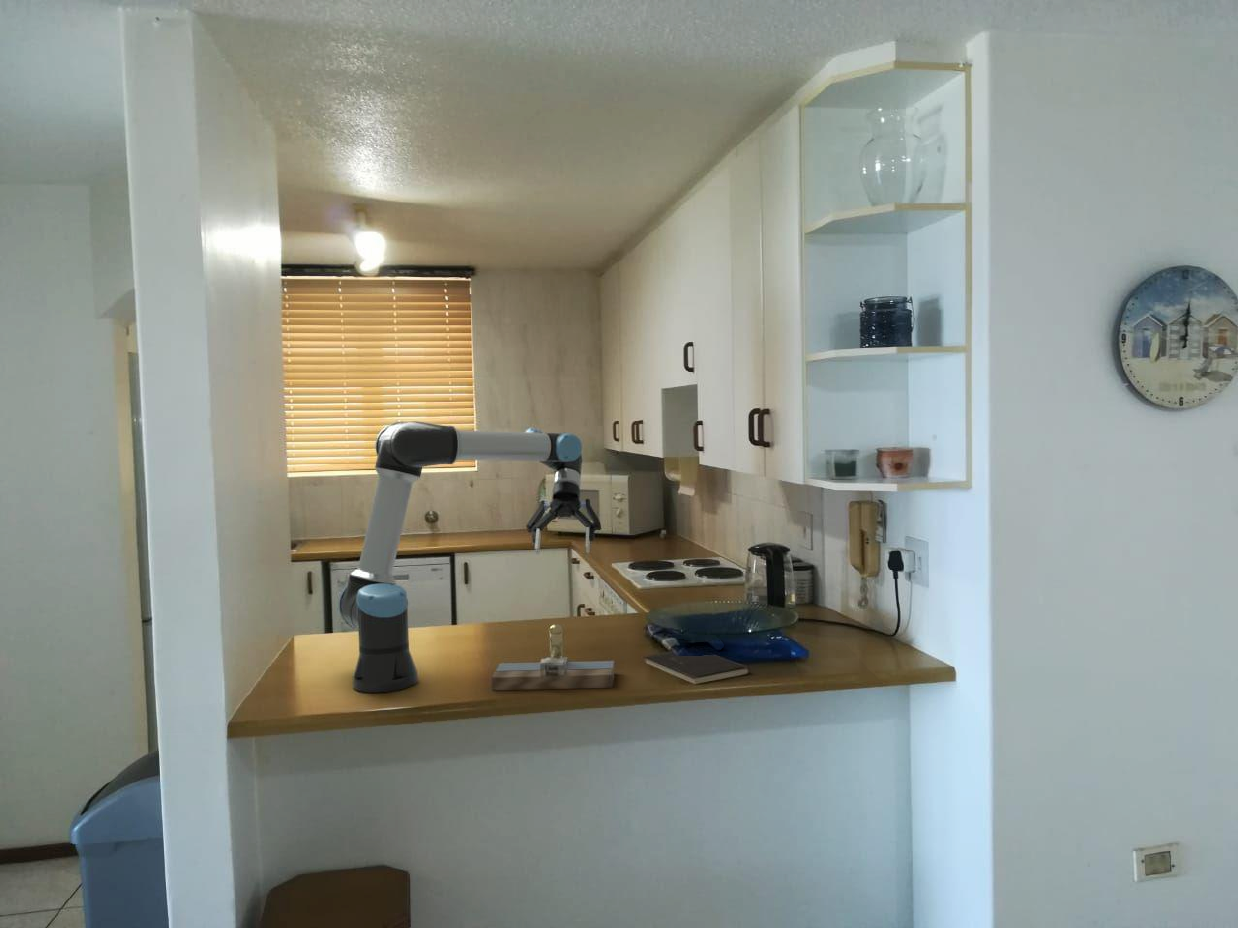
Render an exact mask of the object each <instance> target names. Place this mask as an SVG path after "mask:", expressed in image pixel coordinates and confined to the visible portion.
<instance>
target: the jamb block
mask: <svg viewBox="0 0 1238 928" xmlns="http://www.w3.org/2000/svg"><path fill="white" fill-rule="evenodd" d="M539 663H540V670H539V671H496V670H495V672H494V673H493V674H492V676H491V690H492V691H511V690H512V691H513V690H515V691H516V690H518V691H519V690H562V689H565V690H567V689H608V688H613V685H614V680H613V669H584V670H565V658H563V657H562V658H560V659H546V658H541V659H540V662H539ZM547 665H558V670H547Z"/></svg>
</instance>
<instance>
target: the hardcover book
mask: <svg viewBox="0 0 1238 928" xmlns="http://www.w3.org/2000/svg"><path fill="white" fill-rule="evenodd" d="M673 651H674V650H673ZM673 651H666V652H660V653H655V654H651V655H646V656H645V655H644V656H643V658H644V659H645V663H646V664H648V665H650V666H652V667H655V668H656V669H659V670H661V671H663V672H665V673H668V674H669V675H672V676H675V677H677V678H680V679H681V680H684V681H687V682H689V683H692V684H693V685H698V684H703V683H708V682H713V681H718V680H722V679H728V678H732V677H738V676H742V675H748V674H750V668H749V666H746V665H744V664H742V663H738V662H736V661H733V660H729V659H727V658H725V657H722V656H719V655H716V654H714V655H703V656H678V655H676V654H675V653H674V652H673Z"/></svg>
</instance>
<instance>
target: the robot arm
mask: <svg viewBox="0 0 1238 928" xmlns="http://www.w3.org/2000/svg"><path fill="white" fill-rule="evenodd" d="M375 452H376V456H377V458H376V462H375V465H374V470H375V472H376V473H377V475H378V480H377V484H376V489H375V493H374V498H373V501H372V506H371V511H370V515H369V517H368V518H369V519H368V523H367V528H366V532H365V536H364V540H363V546H362V548H361V553H360V558H359V562H358V565H357V568H356V569H355V570H353V571H352V572H351V573H349V578H348V583H347V586H345V588H343V590H342V592H341V593H340V595H339V598H338V605H337V606H338V612H339V614H340V617H341V619H342V620H343V621H344V622H345V624H346V625H348V626H349V627H350V628H352V629H354V630H356V631H357V632H358V634H357V635H358V652H359V653H358V658H357V661H356V665H355V669H354V672H353V676H352V687H353V689H354V690H355V691H358V692H363V693H368V694H369V693H374V694H375V693H376V694H377V693H379V694H380V693H389V692H395V691H400V690H401V691H402V690H405V689H407V688H410V687H412V686H414V685H416V684H417V683H418V681H419V679H418V669H417V667H416V664H415V662H414V660H413V656H412V654H411V651H410V640H409V639H410V635H409V610H408V606H409V600H408V596H407V590H406V589H404V587H402V586H401V585H398V584H397V581H396V579H395V578H394V576H393V571H394V568H395V567H394V566H395V564H396V563H395V562H396V558H397V553H398V549H399V545H400V540H401V537H402V536H401V535H402V532H403V527H404V522H405V519H406V515H407V509H408V505H409V500H410V497H411V492H412V488H413V484H414V483H415V482H416V481H418V480H419V479H421V476H422V471H423V467H428V466H429V467H430V466H438V465H453V464H455V463H456V462H457V461H494V462H495V461H497V462H498V461H499V462H500V461H501V462H502V461H506V462H507V461H510V462H512V461H514V462H516V461H519V462H521V461H522V462H523V461H524V462H533V461H534V462H539V463H541V464H543V465H545V466H547V467H548V468H550V469H552V470H553V471H554V473H553V475H554V476H553V484H552V485H553V487H552V488H553V489H552V497H551V501H550V502H545V500H541V501H539V506H538V507H537V509H536V510H535V512H534V514H533V515H532V516H531V518H530V519H529V520H528V522H527V523H526V529H527V533H532V535H531V541H532V543H533V544H534V551H535V554H536V555H540V549H541V548H540V547H541V539H542V538H541V536H542V534H541V531H543V530H544V529H545V528H546V527H547V526H548V525H549V524H550V523H551V522H552V521H554V520H556V519H557V518H558V517H559V518H564V517H567V518H571V517H574V518H575V520H576V519H577V520H578V521H579V522H580V524H582V525H583V526H584V527H585V529H586V530H585V545H584V546H585V551H586V552H585V553H586V554H588V553H590V547H591V544H590V543H591V542H594V541H595V533H596V532H595V531H601V530H602V524H601V521H600V519H599V518H598V516H597V514H596V512H595V511H594V509H593V508H592V506H591V500H590V498H586V499H585V501H581V500H580V496H581V480H582V479H581V478H582V476H581V475H582V465H583V445H582V441H581V439H580V438H579V437H578V436H577V435H576V434H574V433H570V432H564V433H562V432H560V433H559V432H558V433H555V432H542V431H541V430H539V429H536V428H534V427H529V428H527V429H526V430H525V431H524V432H523V431H520V432H519V431H498V430H497V431H496V430H494V431H492V430H490V431H489V430H464V429H463V430H462V429H461V430H460V429H457V428H456V427H455V426H454V425H442V424H441V425H440V424H436V423H435V424H433V423H428V422H424V421H417V420H416V421H415V420H413V421H396V422H394V423H391V424H389V425H386V426H385V427H384V428H382V430H381V431H380V432H379V433H378V435H377V437H376V440H375ZM581 507H582V508H583V509H584V511H586V513H587V515H588V516H589V518H590V519H588V517H587V516H585V514H584V513H583V512H582V511H580V508H581ZM549 508H550V509H549ZM548 509H549V510H548ZM545 512H547V513H546V514H545Z"/></svg>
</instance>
